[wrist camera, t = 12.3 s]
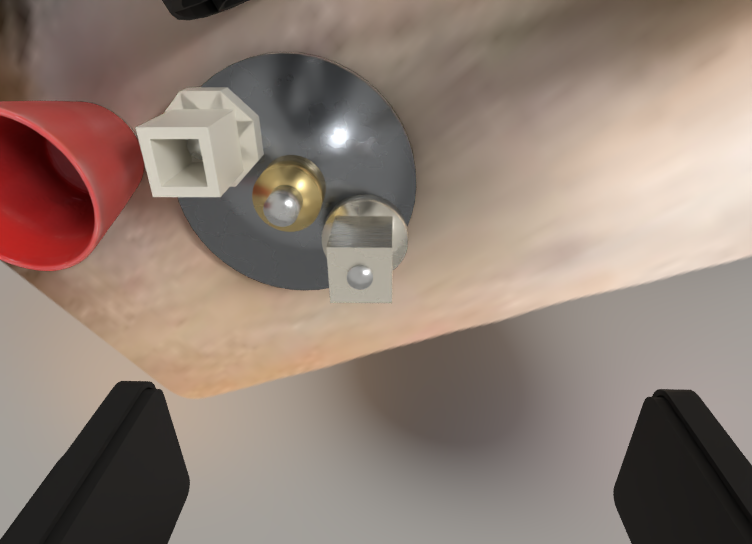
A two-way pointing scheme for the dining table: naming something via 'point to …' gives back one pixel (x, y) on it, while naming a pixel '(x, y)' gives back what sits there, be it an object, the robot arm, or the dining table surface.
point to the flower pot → (62, 180)
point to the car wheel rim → (198, 7)
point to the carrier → (313, 182)
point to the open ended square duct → (216, 138)
